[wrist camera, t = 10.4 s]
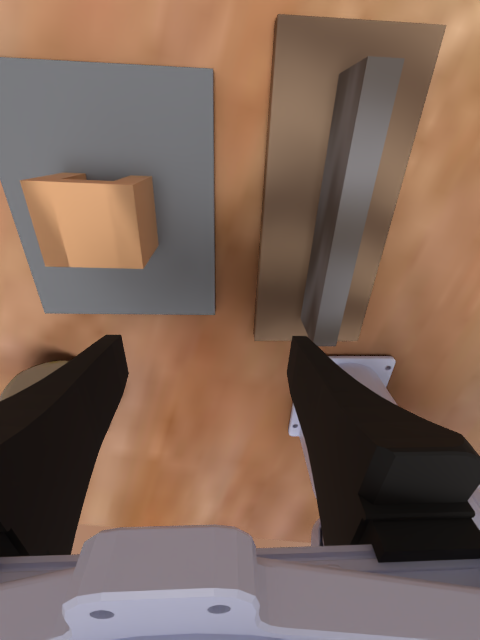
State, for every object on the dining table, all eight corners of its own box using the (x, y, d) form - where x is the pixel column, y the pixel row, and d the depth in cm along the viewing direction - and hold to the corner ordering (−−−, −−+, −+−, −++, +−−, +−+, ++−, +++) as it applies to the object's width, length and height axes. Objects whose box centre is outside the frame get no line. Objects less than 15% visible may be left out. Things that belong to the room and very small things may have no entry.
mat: (215, 310, 22) (214, 314, 22) (49, 309, 22) (44, 313, 21) (213, 71, 15) (212, 68, 15) (-33, 58, 15) (-42, 54, 14)
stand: (352, 334, 24) (377, 370, 20) (253, 333, 24) (259, 370, 20) (433, 31, 15) (506, -7, 11) (274, 21, 15) (293, -23, 11)
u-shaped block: (158, 245, 19) (143, 268, 16) (79, 242, 19) (45, 266, 15) (151, 176, 17) (132, 184, 14) (63, 172, 17) (19, 180, 13)
